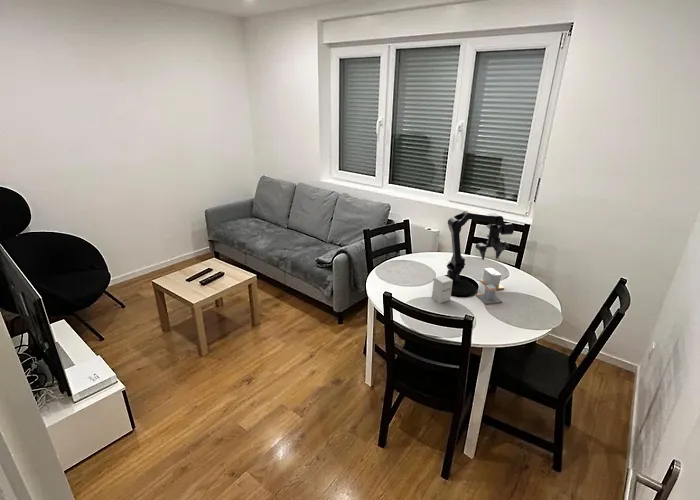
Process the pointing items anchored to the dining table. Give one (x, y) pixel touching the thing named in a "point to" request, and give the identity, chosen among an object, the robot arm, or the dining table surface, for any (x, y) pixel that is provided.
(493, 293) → the cartridge
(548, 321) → the dining table surface
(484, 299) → the pad
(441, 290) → the supplement box
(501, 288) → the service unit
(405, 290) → the dining table surface
